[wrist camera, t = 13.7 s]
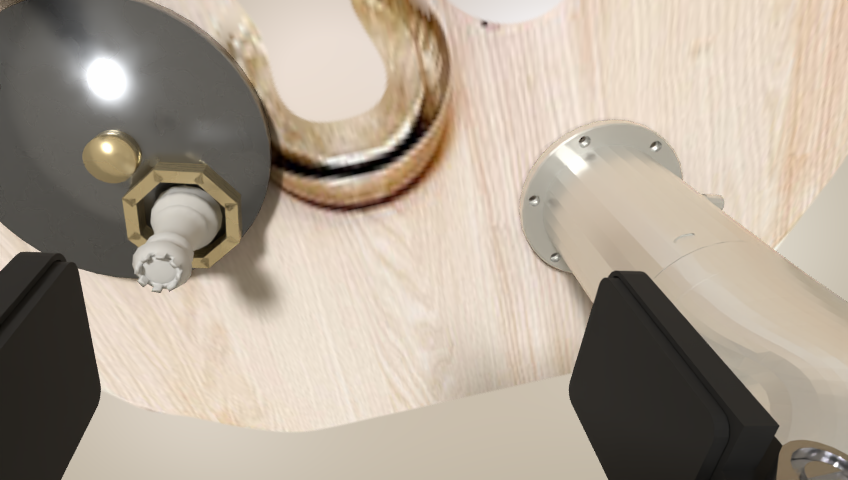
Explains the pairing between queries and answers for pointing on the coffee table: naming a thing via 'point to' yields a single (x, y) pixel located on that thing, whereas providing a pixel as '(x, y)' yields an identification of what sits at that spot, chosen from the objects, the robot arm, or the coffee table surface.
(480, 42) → the coffee table surface
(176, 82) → the carrier plate
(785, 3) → the coffee table surface
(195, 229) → the rook chess piece
